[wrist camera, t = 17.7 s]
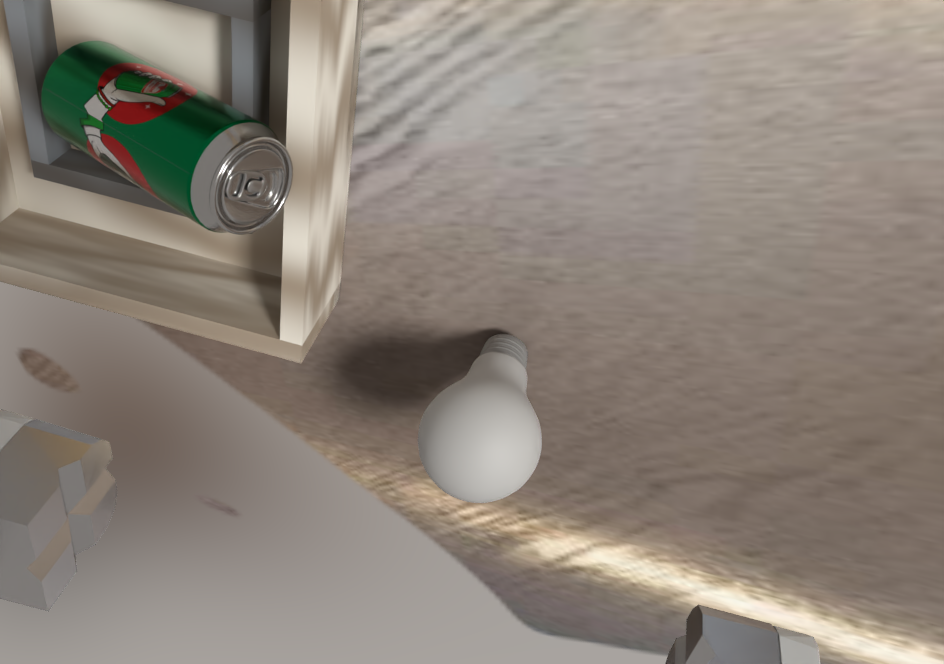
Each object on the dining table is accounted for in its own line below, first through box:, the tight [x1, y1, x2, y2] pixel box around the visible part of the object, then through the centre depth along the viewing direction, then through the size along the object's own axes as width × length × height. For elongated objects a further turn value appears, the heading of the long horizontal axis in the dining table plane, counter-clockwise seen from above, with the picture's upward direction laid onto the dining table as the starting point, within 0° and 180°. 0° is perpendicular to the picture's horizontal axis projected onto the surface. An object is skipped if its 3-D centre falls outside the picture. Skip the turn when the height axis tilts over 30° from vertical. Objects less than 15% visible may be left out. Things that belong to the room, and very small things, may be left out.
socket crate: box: [0, 0, 364, 363], centre depth 41 cm, size 22×20×6 cm
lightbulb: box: [418, 334, 542, 503], centre depth 45 cm, size 6×6×11 cm
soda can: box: [41, 41, 293, 235], centre depth 39 cm, size 5×5×12 cm
